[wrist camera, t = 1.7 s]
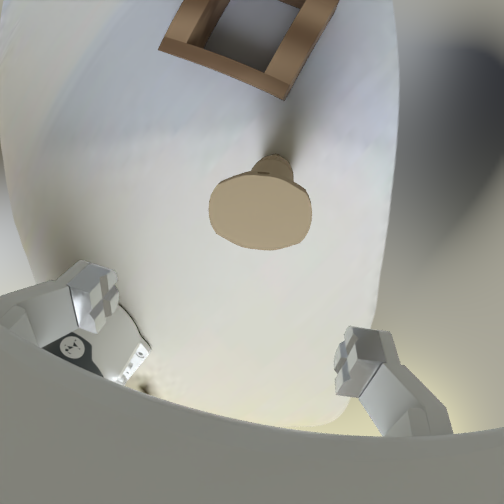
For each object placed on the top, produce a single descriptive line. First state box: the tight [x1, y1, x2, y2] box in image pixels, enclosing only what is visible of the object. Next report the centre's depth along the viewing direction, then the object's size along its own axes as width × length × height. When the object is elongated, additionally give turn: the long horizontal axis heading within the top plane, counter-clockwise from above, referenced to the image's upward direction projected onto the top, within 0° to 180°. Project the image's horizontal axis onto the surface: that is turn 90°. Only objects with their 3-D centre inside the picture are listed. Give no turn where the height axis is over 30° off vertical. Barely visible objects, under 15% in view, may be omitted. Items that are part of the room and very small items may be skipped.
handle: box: [209, 154, 312, 250], centre depth 25 cm, size 5×6×15 cm
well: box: [158, 0, 339, 101], centre depth 23 cm, size 12×13×5 cm
